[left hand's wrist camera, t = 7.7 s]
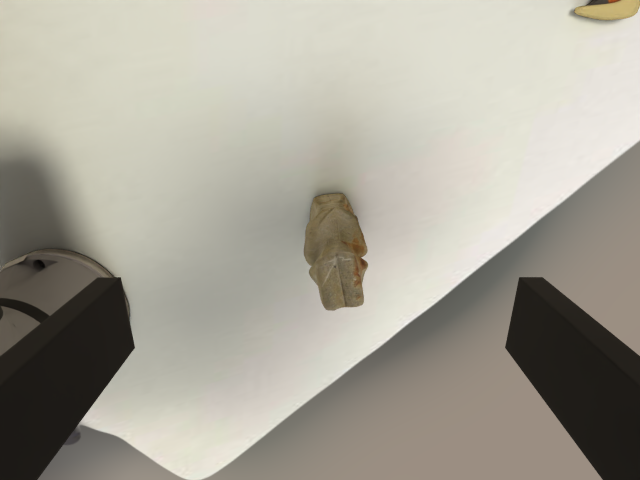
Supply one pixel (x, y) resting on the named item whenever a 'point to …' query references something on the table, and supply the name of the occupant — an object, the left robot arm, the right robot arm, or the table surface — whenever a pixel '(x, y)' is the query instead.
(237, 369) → the table surface
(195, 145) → the table surface
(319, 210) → the sculpture
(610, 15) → the toy gun
